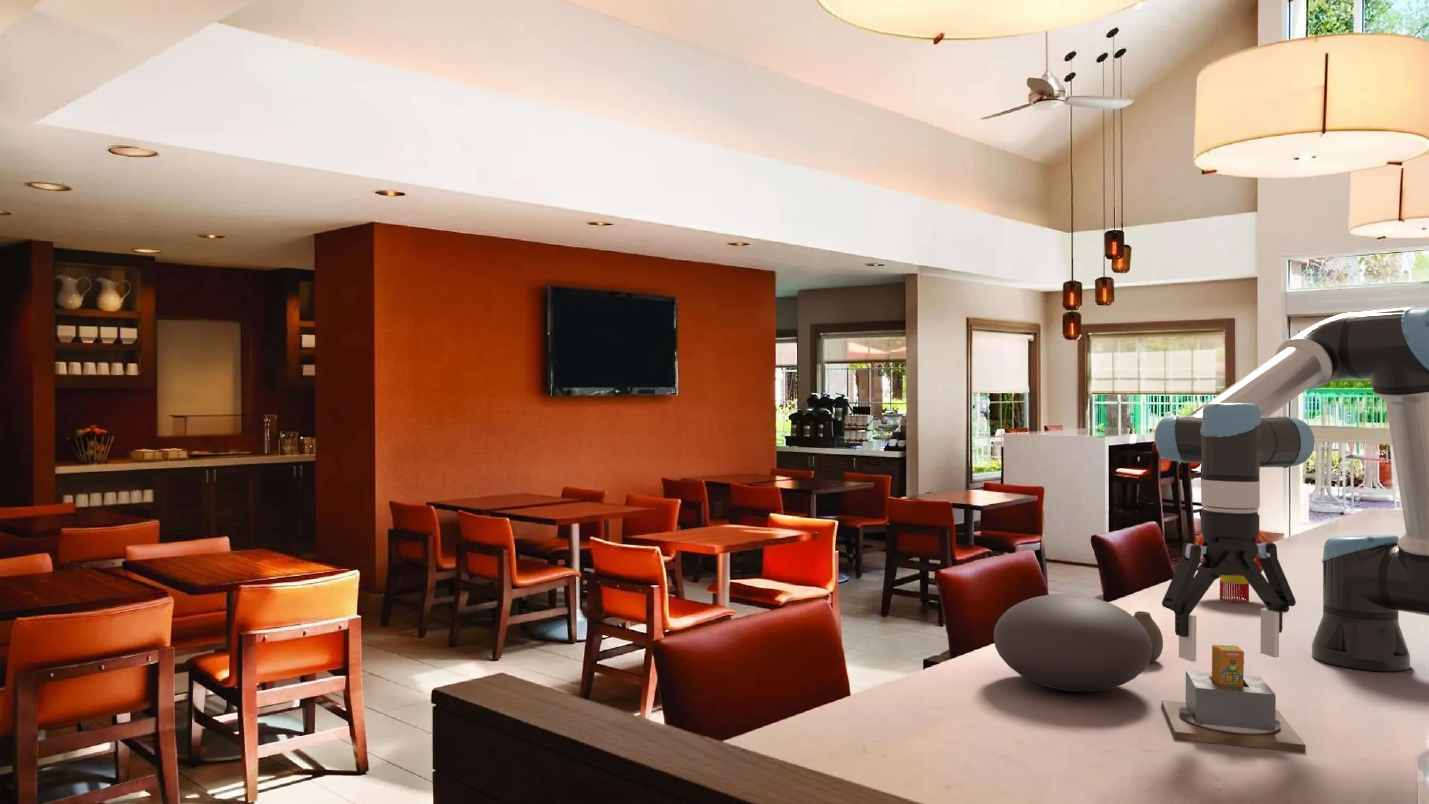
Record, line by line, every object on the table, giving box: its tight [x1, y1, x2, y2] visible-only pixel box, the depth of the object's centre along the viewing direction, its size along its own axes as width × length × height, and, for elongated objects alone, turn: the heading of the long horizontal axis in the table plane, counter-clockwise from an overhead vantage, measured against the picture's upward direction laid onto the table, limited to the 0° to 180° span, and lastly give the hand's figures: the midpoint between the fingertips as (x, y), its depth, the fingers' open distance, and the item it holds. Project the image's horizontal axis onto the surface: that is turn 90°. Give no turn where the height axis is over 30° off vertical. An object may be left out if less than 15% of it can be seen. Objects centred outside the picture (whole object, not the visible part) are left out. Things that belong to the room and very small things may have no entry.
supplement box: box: [1211, 644, 1245, 687], centre depth 144 cm, size 3×3×10 cm
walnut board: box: [1160, 699, 1307, 753], centre depth 144 cm, size 16×16×1 cm
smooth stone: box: [993, 593, 1152, 693], centre depth 165 cm, size 25×25×15 cm
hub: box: [1179, 669, 1280, 736], centre depth 144 cm, size 13×13×6 cm
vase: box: [1132, 610, 1164, 664], centre depth 183 cm, size 7×7×9 cm
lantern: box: [1194, 529, 1274, 603], centre depth 242 cm, size 17×17×30 cm
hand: (1228, 657), depth 144 cm, fingers open, 13 cm apart
